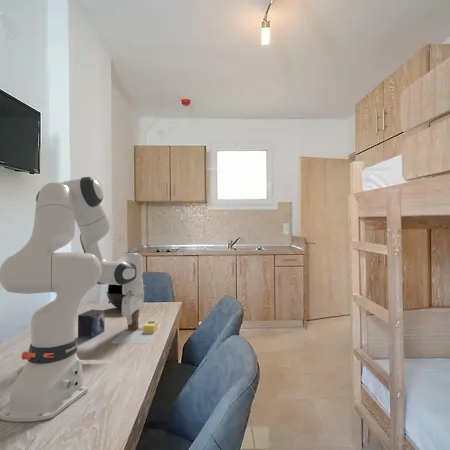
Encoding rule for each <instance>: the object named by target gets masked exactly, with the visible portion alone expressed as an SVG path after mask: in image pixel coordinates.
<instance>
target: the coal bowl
mask: <svg viewBox="0 0 450 450" xmlns="http://www.w3.org/2000/svg"><path fill="white" fill-rule="evenodd" d="M106 296H107V299H108V302H110V304H112V306H114V307H115V308H117V309H120V310H122V299H123V297H125V295H124V294H122V285H110V284H108V286H107V291H106Z"/></svg>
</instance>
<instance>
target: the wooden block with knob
mask: <svg viewBox="0 0 450 450" xmlns="http://www.w3.org/2000/svg"><path fill="white" fill-rule="evenodd" d="M131 317H132V324H127V328H128V331H136V330H137V329H138V324H139V317H138V310H136V311H135V312H134V313H133V314H132V316H131Z"/></svg>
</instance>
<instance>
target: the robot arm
mask: <svg viewBox="0 0 450 450" xmlns="http://www.w3.org/2000/svg"><path fill="white" fill-rule="evenodd" d="M103 191H104V190H103V188H102V186H101V184H100V181H98V179H96V178H94V177H92V176H83V177H81V178H76V179H71V180H67V181H65V180H64V181H61V182H55V181H53V182H48V183H45V184H44V185H43V186H42V187H41V188H40V190H39V191H38V192H37V194H36V197H35V202H36V204H35V208H34V209H35V211H34V219H33V221H34V222H33V229H32V231H31V235H30V238H29V240H27V242H26V244H24V246H22V248H20V250H18V251H17V252H16V253H14V254H12V255H11V256H8V257H7V258H6V259H5V260H4V261H3V262H2V264H1V266H0V285H1V287H2V288H3V289H4V290H5V291H6V292H7V293H13V294H26V295H30V294H31V295H32V294H33V295H34V294H44V293H55V294H56V297H55V298H54V300H52V301H51V302H49V303H46V304H45V305H43V306H41V307H40V308H38V309H37V310H36V311H34V313H33V315H32V316H31V320H30V323H31V324H30V325H31V326H30V327H31V328H30V329H31V331H30V332H31V336H30V337H31V339H30V340H31V343H30V345H29V348H28V350H27V351H23V352H22V353H21V356H20V357H21V359H22V361H23V360H25V361H26V360H27V362H25V363H26V364H25V365H24V367H23V368H22V369H21V372H20V374H18V377H17V378H16V381H14V383H13V385H12V387H11V390H10V395H9V401H8V402H7V403H6V404H5V406H4V407H3V408H2V409H1V410H0V420H2V421H5V422H6V421H7V422H15V423H16V422H18V423H19V422H24V423H26V422H37V421H38V422H39V421H40V422H41V421H44V420H45V421H46V420H49V419H53V418H54V417H56V416H57V415H58V414H59V413H61V412H62V411H63V410H65V409H66V408H68V406H70V405H72V404H73V403H74V402H76V400H78V399H79V398H81V397H82V396H84V395H85V394H86V393H88V391H89V388H88V386H87V385H85V384H84V375H83V366H82V365H83V364H82V361H81V359H80V358H79V356H78V355H77V352H78V339H77V338H78V337H76V318H77V313H78V308H79V305H80V303H81V301H82V299H83V298H84V297H85V295H86V294H87V293H88V292H89V291H90V290H91V289H92V288H94V287H95V286H96V285H109V284H110V285H122V294H124V295H125V297H123V299H122V309H121V315H122V317H123V316H125V318H126V324H127V325H128V324H132V317H131V316H132V314H133V313H134V312H135V311H136V310H138V318H139V317H140V309H141V307H142V306H144V301H145V290H146V285H145V284H144V279H143V274H144V263H143V258H142V255H141V254H140V253H138V252H132V251H131V252H130V251H128V252H127V251H126V252H124V253H123V255H122V256H121V257H120V258H119V259H117V260H116V261H113V260H112V261H109V260H107V259H105V258H104V257H103V256H102V253H101V249H100V247H99V241H100V240H102V239H104V238H105V237H106V236H107V235H108V233H109V231H110V228H111V225H110V224H111V223H110V220H109V218H108V215H107V213H106V211H105V208H104V207H103V205H102V201H103V199H104V192H103ZM75 223H76V224H77V227H78V230H79V232H80V234H79V242H80V244H81V247H82V251H83V252H80V251H69V252H68V251H65V252H56V251H57V250H59V249H61V248H64V247H66V246H67V245H68V244H69V243H71V241H73V239H74V237H75V232H76V230H75V229H76V228H75V227H76V226H75Z"/></svg>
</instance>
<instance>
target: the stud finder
mask: <svg viewBox="0 0 450 450" xmlns="http://www.w3.org/2000/svg"><path fill="white" fill-rule="evenodd" d="M157 324H158V321H156V320H155V321H150V320H148V321H146V322H145V323H144V326H143V333H154V332H155V331H156V330H157V331H158V329H157ZM157 331H156V332H157ZM156 332H155V333H156ZM155 333H154V334H155Z"/></svg>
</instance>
